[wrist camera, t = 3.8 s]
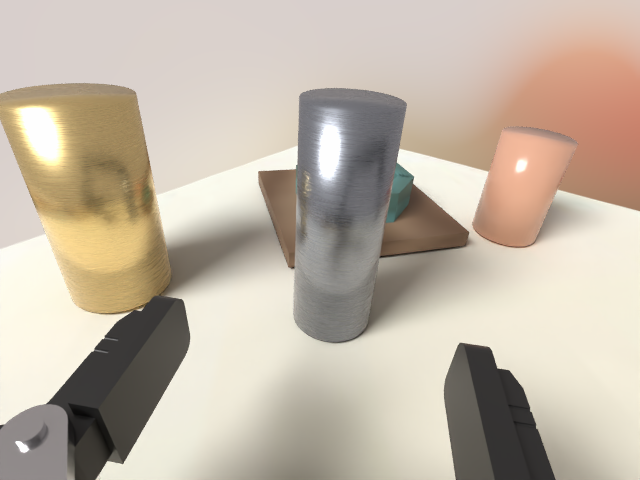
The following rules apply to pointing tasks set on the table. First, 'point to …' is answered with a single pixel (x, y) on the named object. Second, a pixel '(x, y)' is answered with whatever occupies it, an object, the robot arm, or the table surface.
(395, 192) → the ring board
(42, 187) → the brass peg
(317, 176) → the steel peg
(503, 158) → the terracotta peg
